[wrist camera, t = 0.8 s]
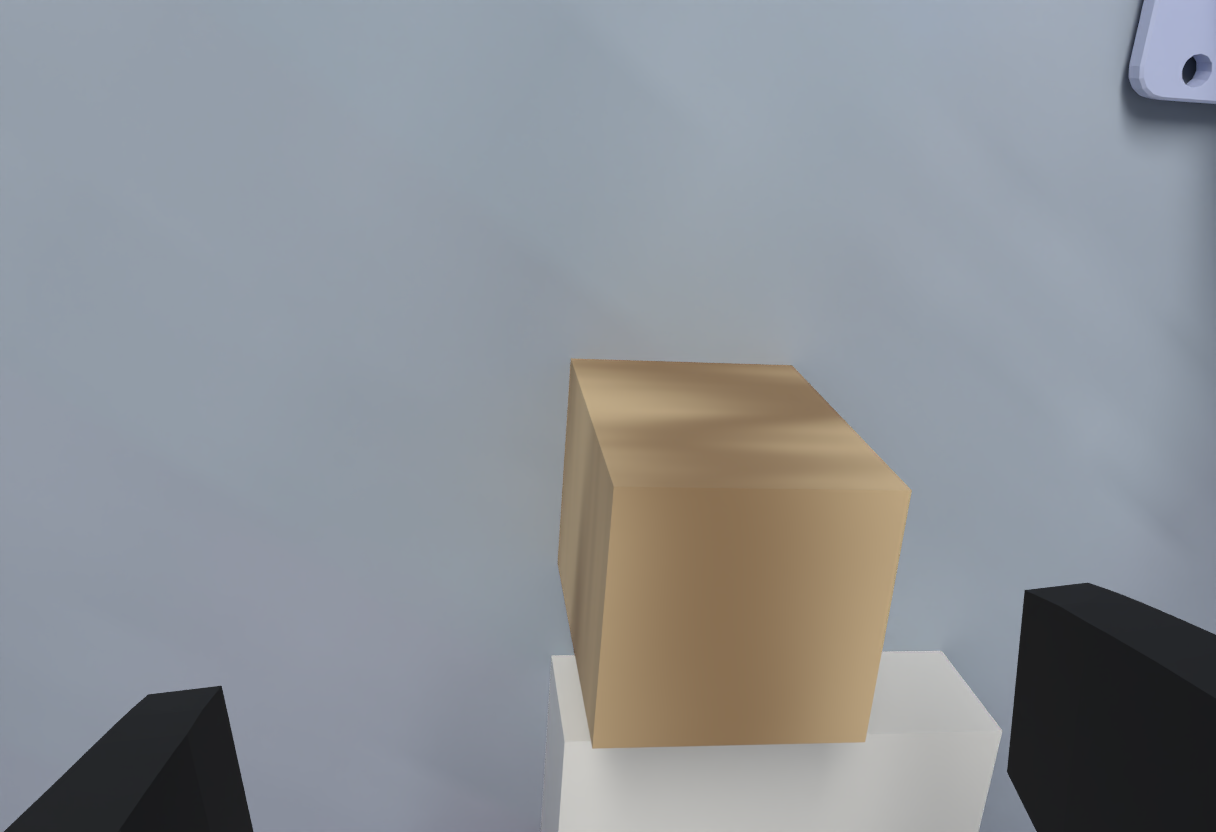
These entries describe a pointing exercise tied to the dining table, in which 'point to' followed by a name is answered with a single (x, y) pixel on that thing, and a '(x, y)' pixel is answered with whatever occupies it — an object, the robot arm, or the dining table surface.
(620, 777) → the tile block
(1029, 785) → the robot arm
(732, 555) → the oak block
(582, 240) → the dining table surface
